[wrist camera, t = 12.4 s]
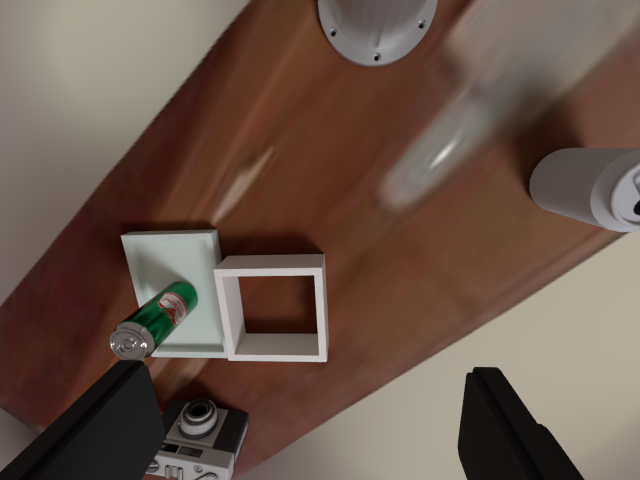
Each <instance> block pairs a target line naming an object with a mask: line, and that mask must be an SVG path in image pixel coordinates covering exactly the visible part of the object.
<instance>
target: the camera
mask: <svg viewBox="0 0 640 480" xmlns="http://www.w3.org/2000/svg"><path fill="white" fill-rule="evenodd" d="M161 418H162V421H163V425H164V429H165V439H164V442H163V445H162V446H161V448H160V450H159V451H158V453H157V455H156V456H155V458H154V460H153V461H152V463H151V464H150V466H149V468H148V469H147V471H146V473H149V474H154V475H160V476H165V477H166V478H169V476H174V477H178V478H179V479H178V480H182V479H183V480H230V479H231V476H232V473H233V470H234V467H235V465H236V462H237V459H238V456H239V453H240V450H241V448H242V445H243V442H244V439H245V436H246V433H247V429H248V418H249V414H248V413H245V412H239V411H234V410H229V409H223V408H218V407H216V406H215V404H214V403H213V402H212V401H210V400H208V399H206V398H198V399H195V400H193V401H192V402H186V401H180V400H175V399H173V400H172V401H171V403H170V404H169V406H168V407H167V409H166V410H165V412H164V413H163V414H162V416H161Z"/></svg>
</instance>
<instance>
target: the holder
mask: <svg viewBox="0 0 640 480" xmlns="http://www.w3.org/2000/svg"><path fill="white" fill-rule="evenodd" d="M213 270H214V276H215V282H216V288H217V294H218V300H219V306H220V312H221V318H222V324H223V330H224V336H225V342H226V348H227V354H228V360H230V361H300V362H327V354H328V342H329V335H328V314H327V294H326V273H325V254H298V255H248V256H227V257H226V258H225V259H224V260H223V261H222V262H221V263H220V264H219V265H218V266H216V267H215V268H214V269H213ZM294 275H314V279H315V295H316V312H317V328H318V334H246V331H245V324H244V317H243V310H242V303H241V296H240V289H239V282H238V276H294Z"/></svg>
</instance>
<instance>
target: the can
mask: <svg viewBox="0 0 640 480" xmlns="http://www.w3.org/2000/svg"><path fill="white" fill-rule="evenodd" d="M529 190H530V194H531V197H532V199H533V200H534V202H535V203H536V204H537V205H538V206H540V207H541V208H543V209H545V210H548V211H551V212H554V213H557V214H561V215H564V216H567V217H570V218H574V219H577V220H580V221H583V222H587V223H590V224H593V225H596V226H599V227H603V228H606V229H609V230H614V231H619V232H630V231H637V230H640V148H566V149H560V150H557V151H555V152H553V153H550V154H549V155H548V156H546V157H545V158H544V159H542V160H541V161H540V162H539V164H538V165H537V166H536V168H535V169H534V171H533V173H532V176H531V178H530V186H529Z"/></svg>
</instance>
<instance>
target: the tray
mask: <svg viewBox="0 0 640 480" xmlns="http://www.w3.org/2000/svg"><path fill="white" fill-rule="evenodd" d="M121 238H122V242H123V246H124V250H125V254H126V258H127V262H128V265H129V269H130V273H131V277H132V281H133V285H134V289H135V293H136V296H137V300H138V304H139V308H140V307H141V306H143V305H144V304H145V303H146V302H148V301H149V300H150V299H152V298H153V297H154V296H155V295H157V294H158V293H159V292H161V291H162V290H163V289H164V288H166V287H167V286H168V285H170V284H171V283H173V282H184V283H187V284H189V285H190V286H192V287H193V288H194V289H195V291H196V293H197V295H198V304H197V306H196V308H195V309H194V310H193V311H192V312H191V313H190V314H189V315H188V316H187V317H186V318H185V319H184V320H183V321H182V322H181V324H180V325H179V326H178V327H177V328H176V329H175V330H174V331H173V332H172V333H171V334H170V335H169V336H168V337H167V338H166V339H165V341H164V342H163V343H162V344H161V345H160V346H159V347H158V348H157V349H156V350H155V351H154V352H153V353H152V354H151V355H152V357H198V358H228V354H227V348H226V342H225V336H224V330H223V324H222V318H221V312H220V306H219V300H218V294H217V288H216V282H215V276H214V270H213V269H214V268H215V267H216V266H218V265H219V264H220V263H221V262H222V257H221V251H220V244H219V238H218V232H217V229H212V230H177V231H142V232H129V233H127V234H124V235H121Z"/></svg>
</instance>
